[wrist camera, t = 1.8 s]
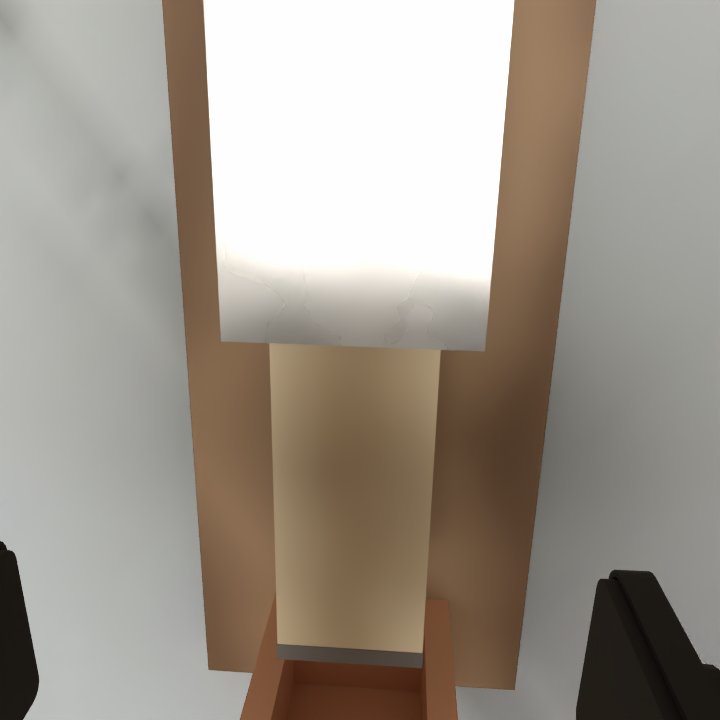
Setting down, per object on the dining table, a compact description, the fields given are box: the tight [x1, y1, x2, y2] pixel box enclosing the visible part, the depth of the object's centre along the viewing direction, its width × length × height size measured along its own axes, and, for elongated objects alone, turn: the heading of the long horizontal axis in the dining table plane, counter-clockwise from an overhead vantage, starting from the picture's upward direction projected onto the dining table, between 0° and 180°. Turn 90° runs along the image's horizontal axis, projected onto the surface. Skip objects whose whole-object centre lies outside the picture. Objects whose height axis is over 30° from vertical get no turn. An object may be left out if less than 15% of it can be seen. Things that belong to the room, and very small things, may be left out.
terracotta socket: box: [240, 593, 458, 720], centre depth 23 cm, size 6×4×7 cm, turn 89°
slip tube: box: [269, 343, 441, 668], centre depth 18 cm, size 4×18×4 cm, turn 179°
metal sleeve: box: [203, 0, 514, 351], centre depth 17 cm, size 6×9×7 cm, turn 179°
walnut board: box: [162, 0, 596, 690], centre depth 23 cm, size 12×26×2 cm, turn 179°
